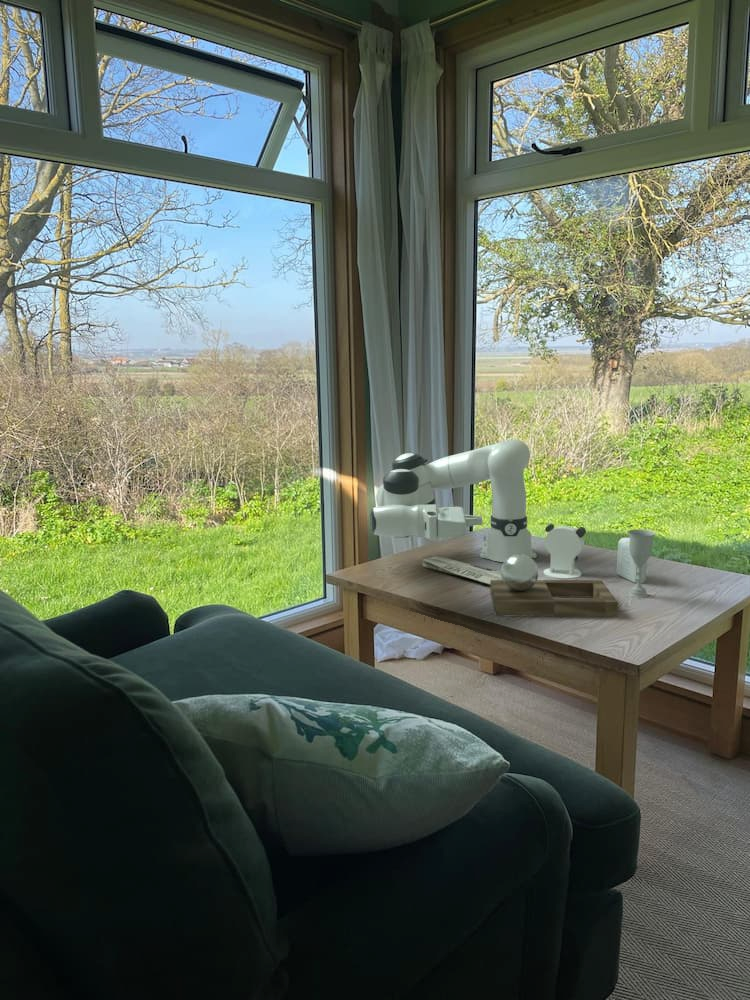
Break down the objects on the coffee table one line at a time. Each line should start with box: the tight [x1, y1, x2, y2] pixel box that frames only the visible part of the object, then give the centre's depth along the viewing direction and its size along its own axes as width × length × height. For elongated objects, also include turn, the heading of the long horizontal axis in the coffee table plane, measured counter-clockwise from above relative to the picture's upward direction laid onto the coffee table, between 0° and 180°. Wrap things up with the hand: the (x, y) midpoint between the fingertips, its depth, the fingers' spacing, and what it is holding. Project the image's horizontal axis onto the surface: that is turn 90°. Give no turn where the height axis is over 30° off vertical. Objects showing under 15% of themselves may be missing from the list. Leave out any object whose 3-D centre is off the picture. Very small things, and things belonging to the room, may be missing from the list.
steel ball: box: [500, 554, 539, 591], centre depth 193 cm, size 10×10×10 cm
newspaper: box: [420, 555, 502, 586], centre depth 222 cm, size 35×12×4 cm, turn 43°
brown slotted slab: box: [489, 579, 619, 617], centre depth 194 cm, size 18×31×4 cm, turn 86°
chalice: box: [627, 529, 656, 599], centre depth 199 cm, size 7×7×18 cm
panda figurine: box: [543, 523, 587, 580], centre depth 220 cm, size 12×11×15 cm
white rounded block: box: [616, 537, 648, 584], centre depth 214 cm, size 10×4×12 cm, turn 17°
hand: (481, 520), depth 191 cm, fingers closed
